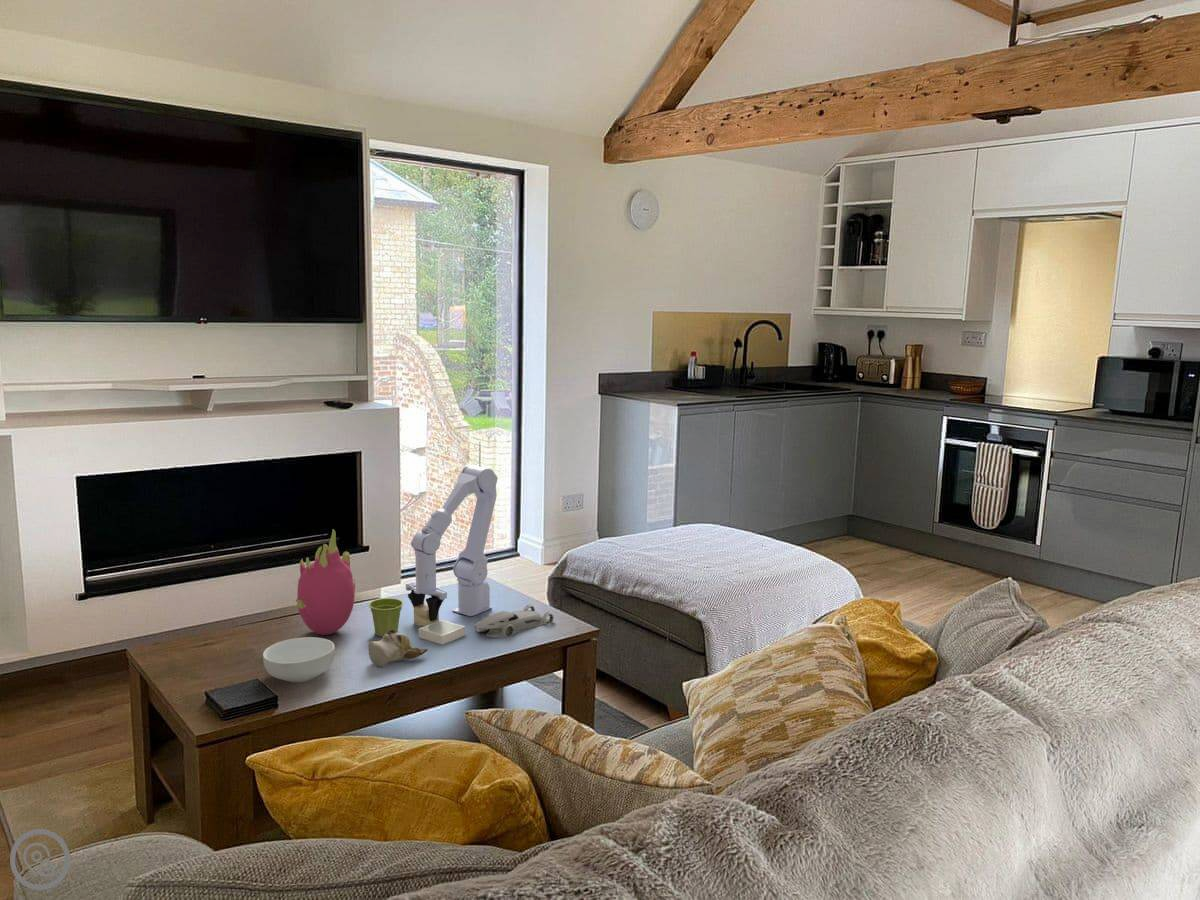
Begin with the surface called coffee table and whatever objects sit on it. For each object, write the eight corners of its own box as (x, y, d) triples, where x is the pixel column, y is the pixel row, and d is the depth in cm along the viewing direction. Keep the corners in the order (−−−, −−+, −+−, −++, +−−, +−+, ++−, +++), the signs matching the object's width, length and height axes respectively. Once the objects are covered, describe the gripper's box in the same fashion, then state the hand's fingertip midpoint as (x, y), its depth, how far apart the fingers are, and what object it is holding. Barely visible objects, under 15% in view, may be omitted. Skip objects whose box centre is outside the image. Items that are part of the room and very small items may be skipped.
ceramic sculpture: (357, 630, 228) (404, 619, 240) (355, 663, 229) (403, 650, 241) (382, 641, 222) (430, 629, 233) (381, 675, 223) (428, 661, 234)
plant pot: (408, 628, 255) (407, 599, 254) (397, 640, 246) (397, 609, 245) (376, 626, 256) (375, 597, 255) (364, 638, 247) (363, 608, 246)
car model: (556, 623, 263) (557, 607, 262) (489, 643, 246) (489, 625, 245) (533, 613, 271) (533, 597, 270) (466, 632, 254) (466, 615, 253)
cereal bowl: (297, 658, 232) (296, 632, 231) (349, 669, 226) (348, 642, 225) (248, 683, 217) (247, 655, 216) (303, 695, 210) (302, 666, 209)
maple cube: (426, 618, 263) (426, 602, 262) (438, 622, 260) (438, 605, 260) (413, 623, 259) (413, 607, 258) (426, 627, 256) (426, 610, 256)
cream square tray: (441, 628, 256) (441, 619, 255) (465, 635, 251) (465, 626, 250) (418, 637, 248) (418, 628, 248) (442, 644, 243) (442, 635, 243)
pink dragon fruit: (341, 619, 261) (338, 519, 256) (368, 631, 252) (366, 527, 248) (285, 635, 248) (281, 530, 243) (311, 648, 239) (308, 539, 234)
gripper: (397, 571, 258) (398, 616, 260) (434, 580, 250) (434, 627, 252) (415, 566, 264) (416, 610, 266) (451, 575, 256) (452, 620, 258)
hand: (426, 618), depth 260 cm, fingers closed on maple cube, 5 cm apart
